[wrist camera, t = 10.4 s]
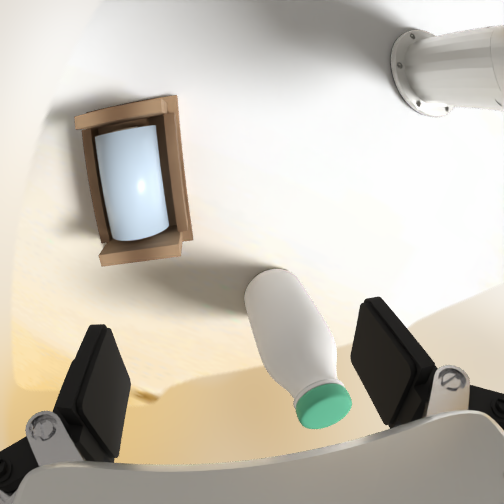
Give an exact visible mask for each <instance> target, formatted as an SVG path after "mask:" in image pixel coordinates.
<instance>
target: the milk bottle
mask: <svg viewBox="0 0 504 504" xmlns="http://www.w3.org/2000/svg"><path fill="white" fill-rule="evenodd" d="M244 301H245V306H246V310H247V314H248V317H249V321H250V324H251V328H252V331H253V334H254V338H255V341H256V344H257V348H258V351H259V354H260V356H261V359H262V362H263V364H264V366H265V368H266V370H267V371H268V373H269V374H270V376H271V377H272V378H273V379H274V380H275V381H276V382H277V383H278V384H279V385H281V386H282V387H283V388H285V389H286V390H287V391H288V392H289V393H290V394H291V395H292V397H293V398H294V403H293V404H294V408H295V409H296V413H297V417H298V419H299V421H300V423H301V424H302V425H303V426H304V427H306V428H309V429H321V428H325V427H328V426H330V425H333V424H335V423H337V422H338V421H340V420H341V419H343V418H344V417H345V416H346V415H347V413H348V412H349V411H350V409H351V406H352V401H351V398H350V395H349V393H348V392H347V390H346V389H345V388H344V384H343V383H342V382H341V381H340V380H338V379H337V373H336V361H337V350H336V344H335V340H334V337H333V335H332V332H331V330H330V328H329V326H328V325H327V323H326V321H325V319H324V318H323V316H322V314H321V313H320V311H319V309H318V308H317V306H316V305H315V303H314V301H313V300H312V298H311V297H310V295H309V294H308V292H307V290H306V289H305V287H304V286H303V284H302V283H301V281H300V280H299V279H298V277H297V276H296V275H294V274H293V273H291V272H290V271H287V270H283V269H271V270H267V271H264V272H262V273H260V274H259V275H257V276H256V277H255V278H254V279H252V281H251V282H250V283H249V285H248V287H247V289H246V291H245V296H244Z"/></svg>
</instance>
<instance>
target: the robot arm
mask: <svg viewBox="0 0 504 504" xmlns="http://www.w3.org/2000/svg"><path fill="white" fill-rule="evenodd" d="M391 69H392V74H393V78H394V81H395V84H396V86H397V88H398V90H399V92H400V94H401V95H402V97H403V98H404V100H405V101H406V102H407V103H408V104H409V105H410V106H411V107H412V108H413V109H414V110H415V111H417V112H419V113H420V114H422V115H425V116H429V117H442V116H444V115H447V114H448V113H450V112H451V111H452V110H453V108H454V107H465V108H478V109H488V110H498V111H504V25H500V26H491V27H484V28H477V29H471V30H465V31H459V32H454V33H449V34H444V35H439V36H435V35H433V34H431V33H429V32H427V31H423V30H412V31H408V32H406V33H404V34H402V35H401V36H400V37H399V38H398V39H397V40H396V42H395V43H394V46H393V49H392V53H391ZM351 362H352V364H353V366H354V368H355V370H356V371H357V373H358V375H359V377H360V379H361V381H362V383H363V385H364V387H365V389H366V390H367V392H368V394H369V396H370V398H371V400H372V402H373V404H374V406H375V407H376V409H377V411H378V413H379V415H380V417H381V419H382V421H383V423H384V424H385V425H389V427H390V429H388V430H385V431H382V432H378V433H375V434H372V435H368V436H365V437H362V438H358V439H355V440H351V441H347V442H344V443H339V444H335V445H331V446H327V447H322V448H318V449H313V450H308V451H303V452H298V453H293V454H287V455H282V456H275V457H269V458H261V459H253V460H245V461H235V462H224V463H209V464H189V465H188V464H186V465H153V464H124V463H114V458H117V457H118V456H119V451H120V444H121V437H122V431H123V425H124V419H125V414H126V408H127V403H128V398H129V392H130V387H131V382H130V378H129V375H128V373H127V370H126V368H125V365H124V363H123V360H122V358H121V355H120V352H119V350H118V347H117V344H116V342H115V339H114V336H113V333H112V331H111V329H110V328H107V327H106V325H104V324H100V325H90V326H89V328H88V330H87V332H86V334H85V337H84V339H83V341H82V343H81V346H80V348H79V350H78V352H77V355H76V357H75V359H74V360H73V361H72V363H71V365H70V368H69V370H68V373H67V375H66V378H65V380H64V383H63V385H62V388H61V390H60V393H59V396H58V399H57V401H56V404H55V407H54V409H53V412H50V411H41V412H38V413H36V414H35V415H33V416H32V417H31V418H30V419H29V421H28V423H27V425H26V430H25V431H26V437H24V438H23V439H21V440H19V441H18V442H16V443H14V444H12V445H11V446H9V447H7V448H6V449H4V450H2V451H0V504H504V394H502V393H498V392H494V391H491V390H487V389H483V388H480V387H476V386H473V385H470V380H469V377H468V375H467V374H466V373H465V372H464V370H462V369H461V368H459V367H456V366H452V365H446V366H442V367H440V368H439V369H438V368H437V367H436V366H435V363H434V362H433V361H432V359H431V358H430V357H429V356H428V354H427V353H426V352H425V350H424V349H423V348H422V346H421V345H420V344H419V343H418V342H417V340H416V339H415V338H414V337H413V335H412V334H411V333H410V332H409V330H408V329H407V328H406V327H405V326H404V324H403V323H402V322H401V321H400V320H399V318H398V317H397V316H396V315H395V314H394V312H393V311H392V310H391V309H390V308H389V306H388V305H387V304H386V303H385V302H384V301H383V299H382V298H381V297H374V298H368V299H365V301H364V303H362V304H361V305H360V310H359V315H358V321H357V326H356V331H355V336H354V341H353V347H352V351H351Z"/></svg>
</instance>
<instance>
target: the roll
mask: <svg viewBox="0 0 504 504" xmlns="http://www.w3.org/2000/svg"><path fill="white" fill-rule="evenodd" d="M95 142H96V150H97V157H98V164H99V170H100V177H101V183H102V189H103V194H104V200H105V205H106V210H107V215H108V220H109V224H110V229H111V234H112V237H113V238H114V239H115V240H120V241H130V240H138V239H142V238H146V237H150V236H153V235H156V234H158V233H160V232H162V231H164V230H165V229H167V228H168V226H169V221H168V215H167V209H166V202H165V196H164V189H163V181H162V174H161V166H160V158H159V150H158V141H157V132H156V125H152V126H144V127H138V128H137V126H136V127H129V128H124V129H119V130H115V131H113V132H112V133H107V134H103V135H99V136H96V137H95Z"/></svg>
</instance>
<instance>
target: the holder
mask: <svg viewBox="0 0 504 504" xmlns="http://www.w3.org/2000/svg"><path fill="white" fill-rule="evenodd" d="M74 119H75V129H76V130H77V129H86V130H82V137H83V146H84V153H85V161H86V167H87V174H88V180H89V186H90V191H91V197H92V202H93V207H94V212H95V217H96V222H97V226H98V231H99V235H100V239H101V243H105V242H107V244H106V245H105V247H104V248H103V250H102V251H101V253H100V254H99V258H100V262H101V266H110V265H117V264H125V263H133V262H140V261H148V260H155V259H163V258H171V257H178V256H181V249H182V242H183V241H191V240H193V234H192V226H191V219H190V212H189V204H188V196H187V188H186V180H185V171H184V162H183V153H182V143H181V133H180V122H179V111H178V98H177V95H174V96H167V97H160V98H154V99H148V100H142V101H137V102H132V103H126V104H122V105H117V106H112V107H108V108H103V109H99V110H95V111H91V112H87V113H86V114H83V115H79V116H75V117H74ZM152 125H156V132H157V141H158V150H159V158H160V166H161V174H162V181H163V189H164V196H165V202H166V209H167V215H168V221H169V226H168V228H167V229H165V230H164V231H162V232H160V233H158V234H156V235H153V236H150V237H146V238H142V239H138V240H130V241H120V240H115V239H114V238H113V237H112V234H111V229H110V224H109V220H108V215H107V210H106V205H105V200H104V194H103V189H102V183H101V177H100V170H99V164H98V157H97V150H96V142H95V137H96V136H99V135H103V134H107V133H112V132H113V131H115V130H119V129H124V128H129V127H136V126H137V128H138V127H144V126H152Z"/></svg>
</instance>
